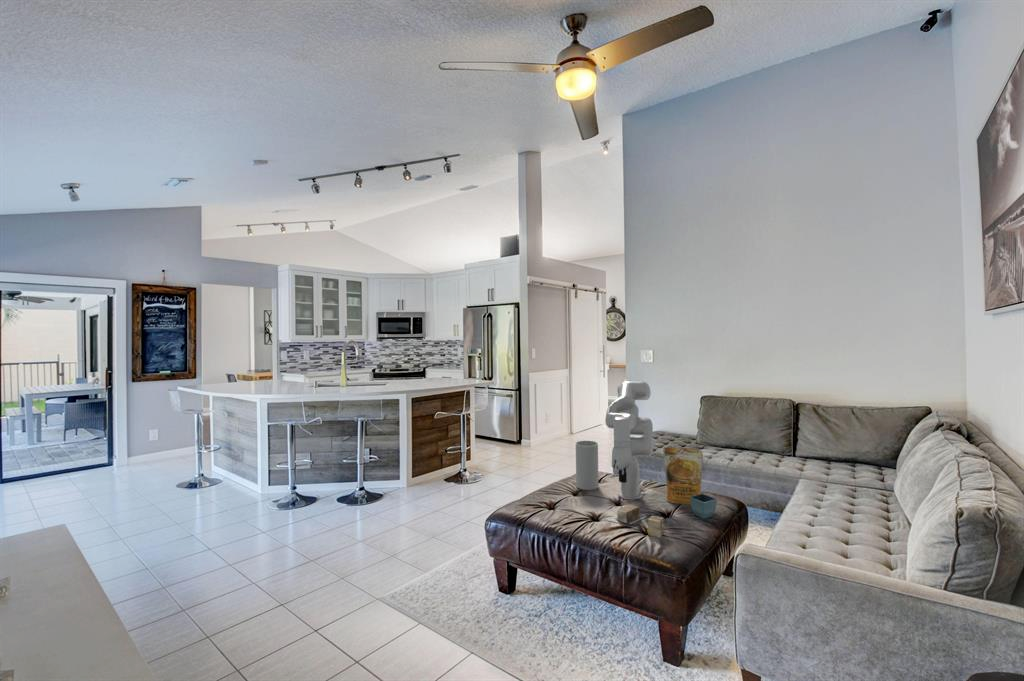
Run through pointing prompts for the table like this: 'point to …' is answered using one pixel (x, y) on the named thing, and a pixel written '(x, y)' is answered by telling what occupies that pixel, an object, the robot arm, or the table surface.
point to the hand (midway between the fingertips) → (622, 481)
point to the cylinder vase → (587, 465)
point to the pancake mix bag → (682, 474)
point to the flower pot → (703, 505)
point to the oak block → (655, 526)
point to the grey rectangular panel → (636, 519)
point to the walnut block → (628, 513)
